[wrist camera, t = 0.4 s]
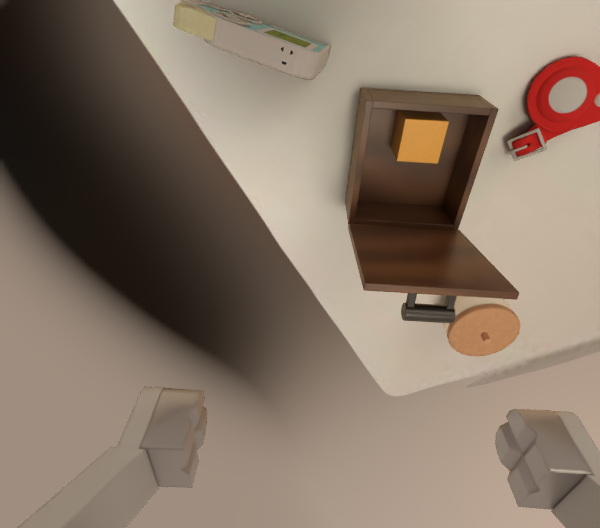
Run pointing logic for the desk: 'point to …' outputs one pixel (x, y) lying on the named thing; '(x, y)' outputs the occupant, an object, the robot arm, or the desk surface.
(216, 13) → the handheld gaming console
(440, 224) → the chest
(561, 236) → the desk surface
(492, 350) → the trinket box
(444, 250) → the lid
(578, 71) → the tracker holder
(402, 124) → the block
